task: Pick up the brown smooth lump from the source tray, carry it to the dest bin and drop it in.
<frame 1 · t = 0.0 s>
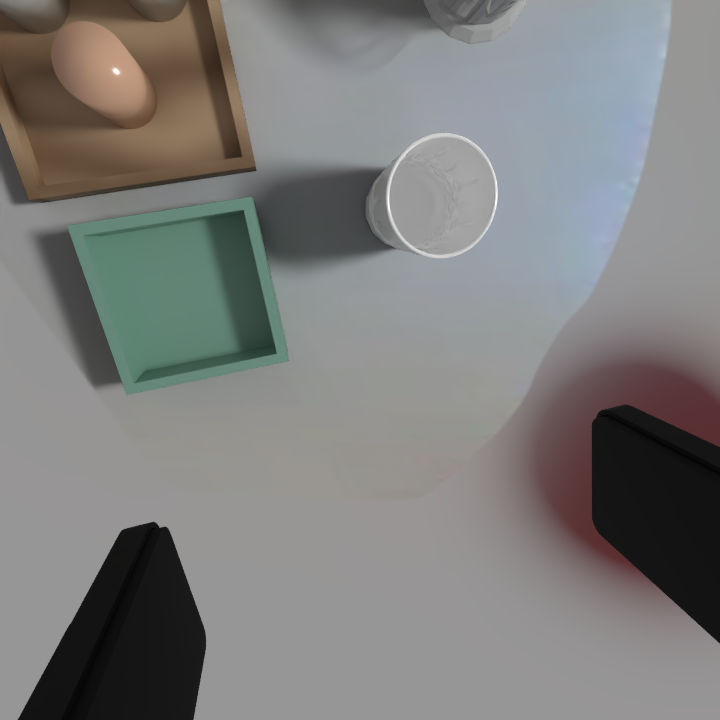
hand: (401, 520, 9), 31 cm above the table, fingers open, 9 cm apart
white cup: (401, 208, 38), on the table
brown smooth lump a: (125, 96, 32), point 1 cm above the table, touching source tray
source tray: (119, 68, 31), on the table
dest bin: (196, 293, 37), on the table
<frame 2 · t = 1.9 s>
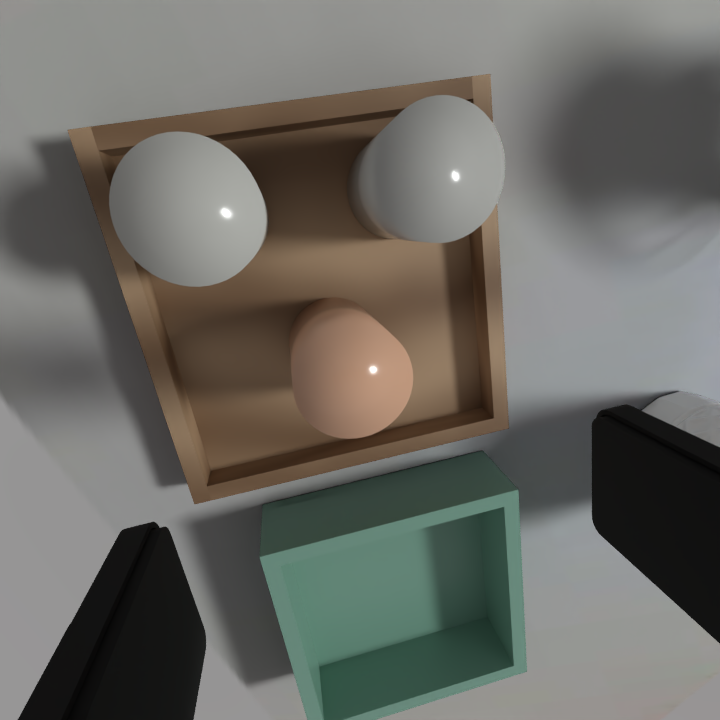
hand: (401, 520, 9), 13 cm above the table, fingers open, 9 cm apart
white cup: (663, 437, 28), on the table
pebble b: (216, 217, 18), point 1 cm above the table, touching source tray
brown smooth lump a: (334, 341, 21), point 1 cm above the table, touching source tray
source tray: (325, 300, 21), on the table
dest bin: (391, 565, 26), on the table
pebble c: (394, 189, 19), point 1 cm above the table, touching source tray
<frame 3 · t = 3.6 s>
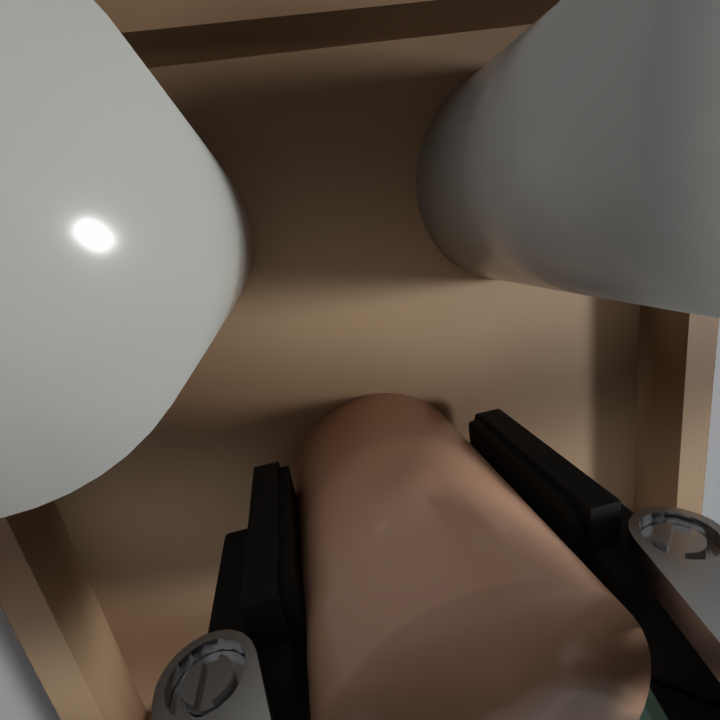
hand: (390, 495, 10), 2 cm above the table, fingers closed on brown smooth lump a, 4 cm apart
pebble b: (139, 240, 8), point 1 cm above the table, touching source tray
brown smooth lump a: (381, 474, 11), point 1 cm above the table, touching gripper, source tray
source tray: (364, 394, 11), on the table
pebble c: (510, 179, 10), point 1 cm above the table, touching source tray
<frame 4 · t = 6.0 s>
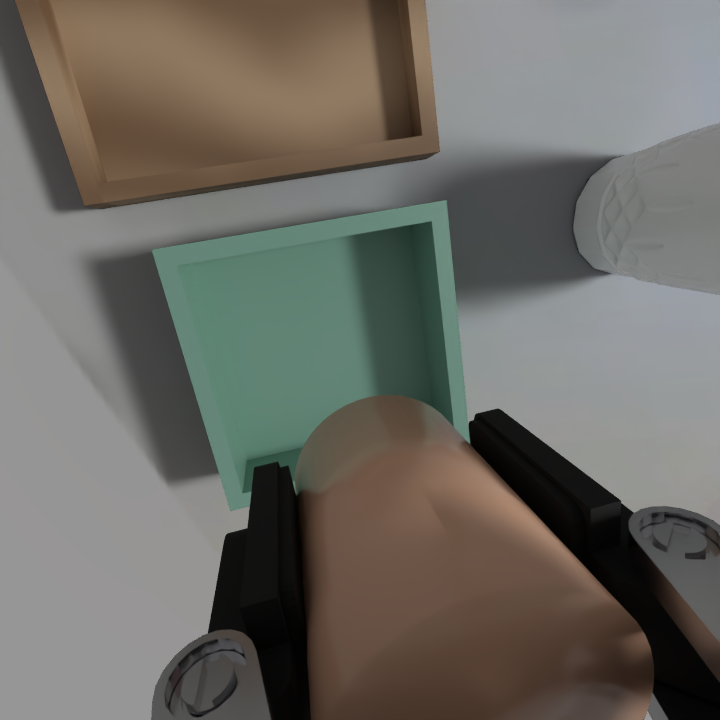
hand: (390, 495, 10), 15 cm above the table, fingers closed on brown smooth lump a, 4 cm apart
white cup: (619, 216, 26), on the table
brown smooth lump a: (381, 476, 11), point 14 cm above the table, touching gripper
dest bin: (324, 344, 24), on the table
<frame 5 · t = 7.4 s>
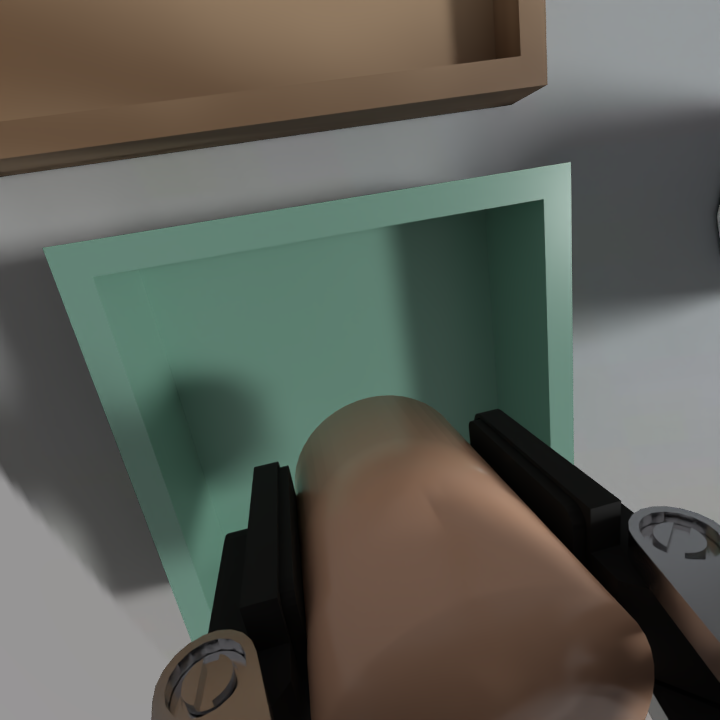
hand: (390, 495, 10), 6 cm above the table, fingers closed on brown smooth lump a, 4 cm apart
brown smooth lump a: (381, 476, 11), point 6 cm above the table, touching gripper
dest bin: (347, 390, 16), on the table
when the fingers open (3 cm above the table, at t = 8.4 s): brown smooth lump a drops 2 cm, resting on dest bin.
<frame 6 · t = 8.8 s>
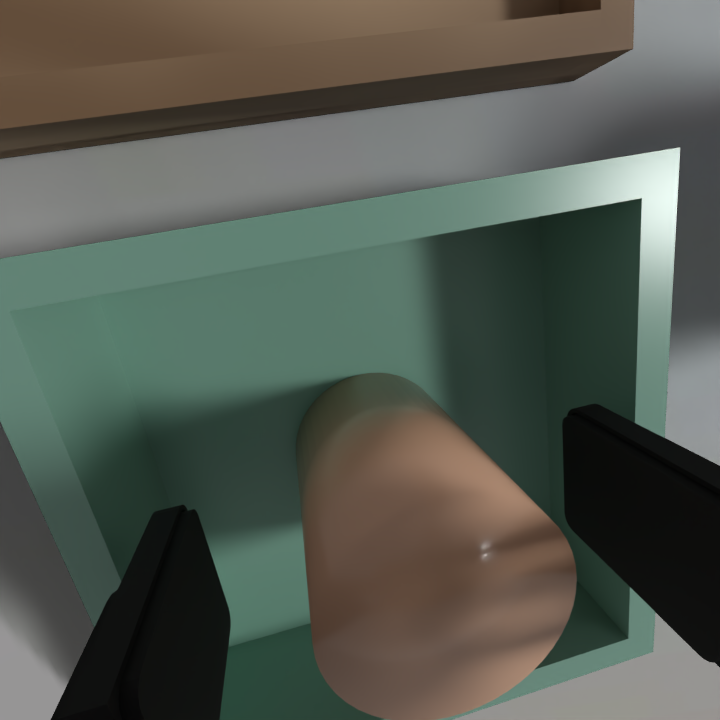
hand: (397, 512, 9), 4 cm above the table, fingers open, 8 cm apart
brown smooth lump a: (371, 444, 12), point 1 cm above the table, touching dest bin
dest bin: (364, 437, 13), on the table
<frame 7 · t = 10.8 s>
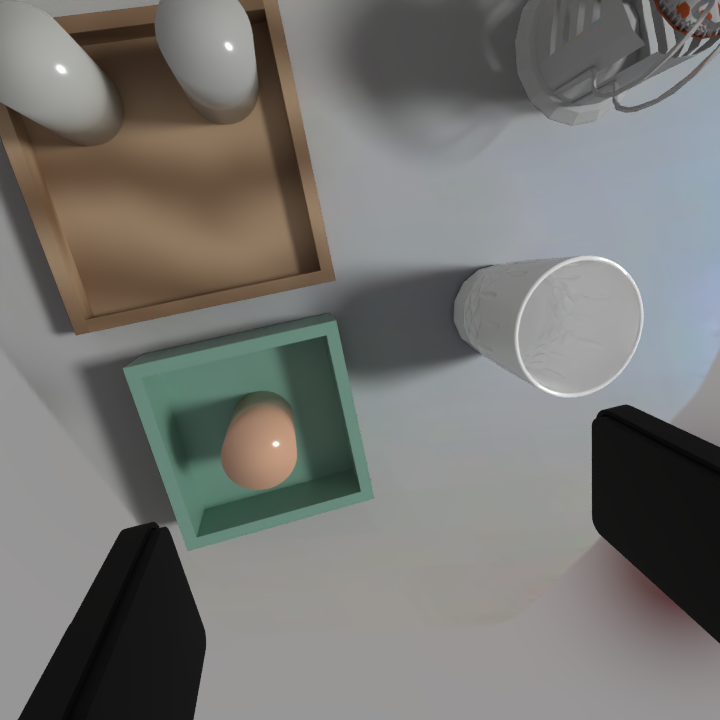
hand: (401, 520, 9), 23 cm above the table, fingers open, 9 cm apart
white cup: (492, 308, 33), on the table
pebble b: (83, 105, 25), point 1 cm above the table, touching source tray
brown smooth lump a: (263, 419, 31), point 1 cm above the table, touching dest bin
french press: (571, 62, 30), on the table
source tray: (179, 176, 27), on the table
dest bin: (262, 417, 32), on the table
pebble c: (221, 84, 26), point 1 cm above the table, touching source tray
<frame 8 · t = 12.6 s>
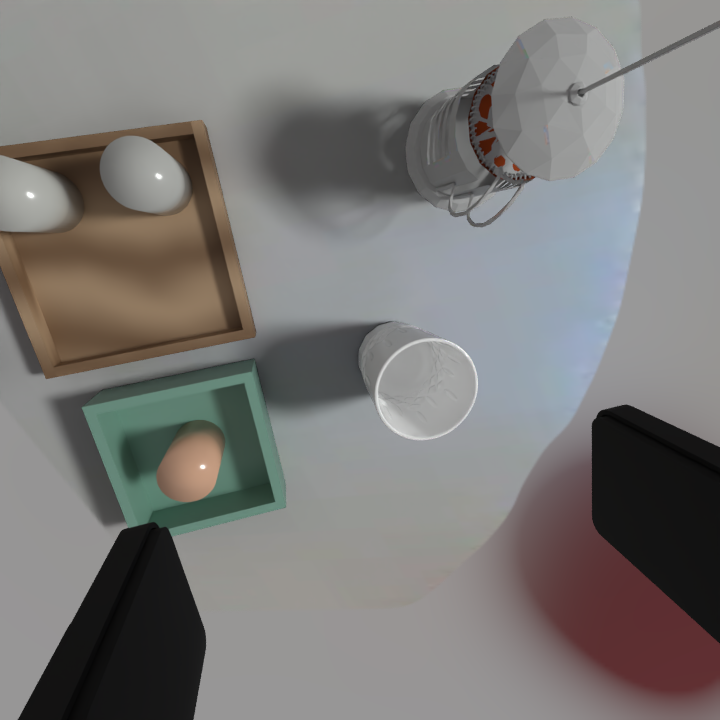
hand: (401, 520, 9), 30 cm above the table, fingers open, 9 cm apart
white cup: (391, 355, 41), on the table
pebble b: (51, 202, 32), point 1 cm above the table, touching source tray
brown smooth lump a: (200, 442, 39), point 1 cm above the table, touching dest bin
french press: (454, 162, 37), on the table
source tray: (129, 254, 34), on the table
dest bin: (200, 439, 39), on the table
pebble c: (162, 185, 33), point 1 cm above the table, touching source tray
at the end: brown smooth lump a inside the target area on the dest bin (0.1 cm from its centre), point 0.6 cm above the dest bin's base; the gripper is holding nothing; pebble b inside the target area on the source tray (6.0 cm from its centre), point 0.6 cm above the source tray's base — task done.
